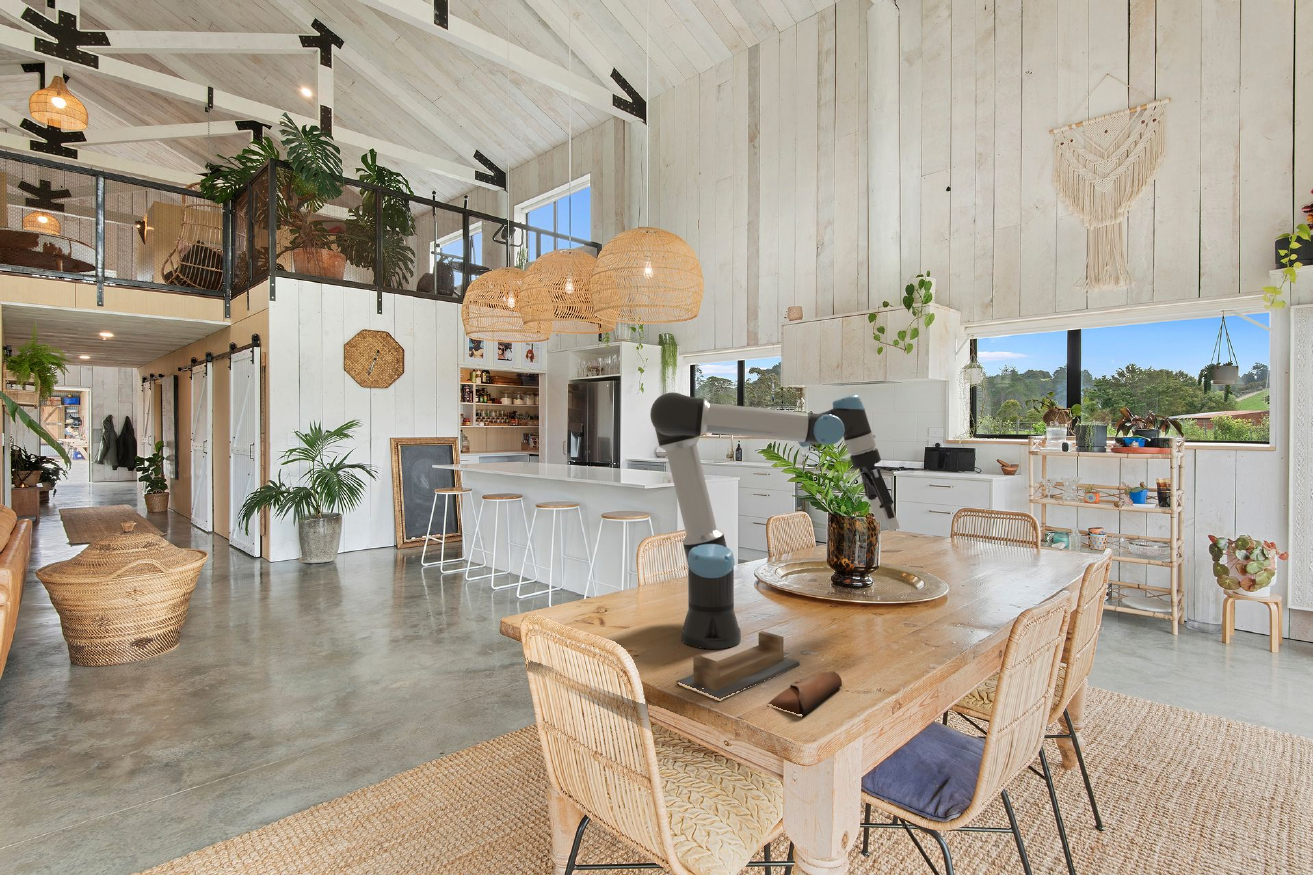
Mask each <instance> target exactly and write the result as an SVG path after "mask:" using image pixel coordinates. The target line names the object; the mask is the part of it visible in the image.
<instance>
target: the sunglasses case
mask: <svg viewBox="0 0 1313 875" xmlns="http://www.w3.org/2000/svg"><path fill="white" fill-rule="evenodd" d="M842 684H843V681H842V678H841V676H840V674H839V673H838V672H836V671H834V670H833V671H830V670H829V671H822V672H817V673H814V674H810V675H809V676H806V677H803V678H800V679H798V680H795V681H794V682H792V683H790V685H789V687H788V688H786V689H785V690H783V691H781V692H780V693H779V694H777V695H776V696H775V697H774V698H772V699H771V700H770V701H769V702H768V703H767V705H768V704H772V705H773V706H776V707H778V708H781V709H783V710H787V711H790V712H794V713H796V714H802V715H804V714H806V715H807V714H808V713H809V712H810V711H811V710H813V709H814V708H815V707H817V705H818V704H819V703H820V702H822V701H824V699H826V698H827V697H828V696H829V695H831V694H833V692H835V691H837V690H838V689H839V687H842Z"/></svg>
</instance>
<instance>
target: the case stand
mask: <svg viewBox="0 0 1313 875" xmlns="http://www.w3.org/2000/svg"><path fill="white" fill-rule="evenodd" d="M784 641H785V640H784V636H781V635H778V634H774V633H770V632H767V631H763V630H762V631H759V632H758V645H755V646H753V647H750V648H748V649H745V650H743V651H740V652H738V653H736V654H733V655H729V656H727V657H725V658H721V659H720V660H714V659H711V658H708V657H705V656H702V655H700V654H697V655H694V656H693V658H692V659H693V660H692V661H693V666H692V670H693V674H692V675H689V676H686V677H684V678H681V679H679V680H676V683H677V682H680V683H682V684H685V685H687V686H690V687H692V688H696V689H697V690H699V691H702V692H704V693H708V694H709V695H712V696H714V697H717V698H719V699H721V698H723V697H726V696H728V695H731V694H732V693H736V692H737V691H741V690H743V689H744V688H748V687H750V686H753V685H755V684H758V683H760V682H762V683H764V682H765V681H764V680H766V681H768V679H769V678H771V679H773V678H775V677H777V676H779V675H781V674H780V673H782V674H783V672H784V673H785V671H786V672H787V671H790V670H792V669H794V668H796V667H798V666H800V663H801V662H800V661H799V660H795V659H792V658H788V657H786V656H785V654H784V647H785V646H784ZM778 674H779V675H778ZM776 675H777V676H776ZM774 676H775V677H774ZM772 677H773V678H772ZM769 680H770V679H769ZM763 681H764V682H763ZM760 684H761V683H760ZM758 685H759V684H758ZM753 687H754V686H753ZM702 688H704V689H702Z"/></svg>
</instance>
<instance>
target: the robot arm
mask: <svg viewBox="0 0 1313 875" xmlns="http://www.w3.org/2000/svg"><path fill="white" fill-rule="evenodd" d="M649 413H650V416H649V417H650V420H651V421H650V422H651V423H652V425H653V427H654V430H655V434H656V438H657V443H658V446H659V448H661V449H662V450H664V451H665V452H666V456H667V461H668V463H669V464H668V465H669V468H670V472H671V477H672V480H673V485H674V489H675V493H676V497H677V502H678V506H679V510H680V514H681V518H682V523H683V526H684V530H685V537H684V539H683V541H682V544H683V550H684V555H685V558H686V562H687V568H688V569H687V570H688V571H687V573H688V575H687V576H688V577H687V578H688V579H687V580H688V582H687V586H688V587H687V588H688V589H687V590H688V592H687V593H688V594H687V596H688V597H687V598H688V604H687V605H688V607H687V608H688V609H687V612H686V617H685V620H684V623H683V626H682V628H681V641H682V642H683V641H684V642H683V643H684V644H686V643H687V644H688V645H687V644H686V645H687V646H690V645H692V646H691V647H694V648H697V647H701V648H700V649H704V648H706V650H722V649H728V647H729V648H732V647H735V646H737V645H739V644H740V643H741V641H742V631H741V628H740V627H739V622H738V620H737V616H736V612H735V606H734V605H735V604H734V602H735V601H734V600H735V598H734V597H735V596H734V595H735V586H734V585H735V584H734V583H735V579H734V577H735V575H734V572H735V569H734V568H735V558H734V552H733V551H732V550H731V549H730V548H729V547H728V546H727V542H726V539H725V538H726V537H725V534H724V532H723V531H721V529H719V528H717V524H716V520H715V516H714V512H713V508H712V505H711V499H710V493H709V492H708V487H707V483H706V477H705V474H704V471H703V466H702V462H701V458H700V453H699V448H698V445H697V443H698V441H699V440H700V438H701V436H703V435H704V434H706V433H707V434H708V433H709V434H718V435H727V436H729V435H730V436H738V437H749V438H757V439H759V438H760V439H768V440H769V439H771V440H778V441H788V442H789V441H790V442H797V443H798V444H799V446H800V447H802V448H807V447H810V446H811V447H812V446H814V445H816V444H818V445H824V446H833V445H835V444H838V443H839V442H840V441H841V439H844V440H843V441H844V444H845V447H846V450H847V452H848V454H850V457H849V458H850V462H851V464H852V467H853V468H854V469H856V470H857V469H858V471H859V473H860V476H861V480H862V486H863V489H864V493H865V496H866V497H867V499H868V502H869V505H870V507H871V510H872V513H873V514H872V515H873V516H874V520H875V523H880V522H883V521H885V523H886V526H887V530H888V532H892V531H895V530H899V529H901V527H900V525H899V521H898V519H897V515H896V513H895V509H894V507H893V504H894V500H893V498H892V496H891V493H890V491H889V489H888V487H887V484H886V482H885V480H884V478H883V475H882V473H881V470H880V468H876V464H878V463H880V462H881V461H882V458H881V454H880V452H879V449H878V448H876V445H877V444H876V440H875V438H876V435H875V434H873V432H872V430H871V426H870V423H869V419H868V416H867V413H866V408H865V407H864V405H863V401H862V399H861V397H860V395H858V394H851V395H848V396H845V397H841V398H839V399H836V400H834V401H832V408H831V409H829V410H828V411H823V412H821V413H811V412H802V411H791V410H785V409H784V410H783V409H772V408H762V407H752V406H751V407H750V406H743V405H733V404H732V405H731V404H724V403H723V404H722V403H721V404H720V403H709V401H707V399H706V398H701V397H694V396H688V395H685V394H681V393H678V392H671V391H670V392H666V393H664V394H662V395H659V396H658V397H657V398H656V399H655V400H654V402H653V403H652V405H651V408H650V412H649ZM847 444H848V446H846V445H847Z"/></svg>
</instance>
